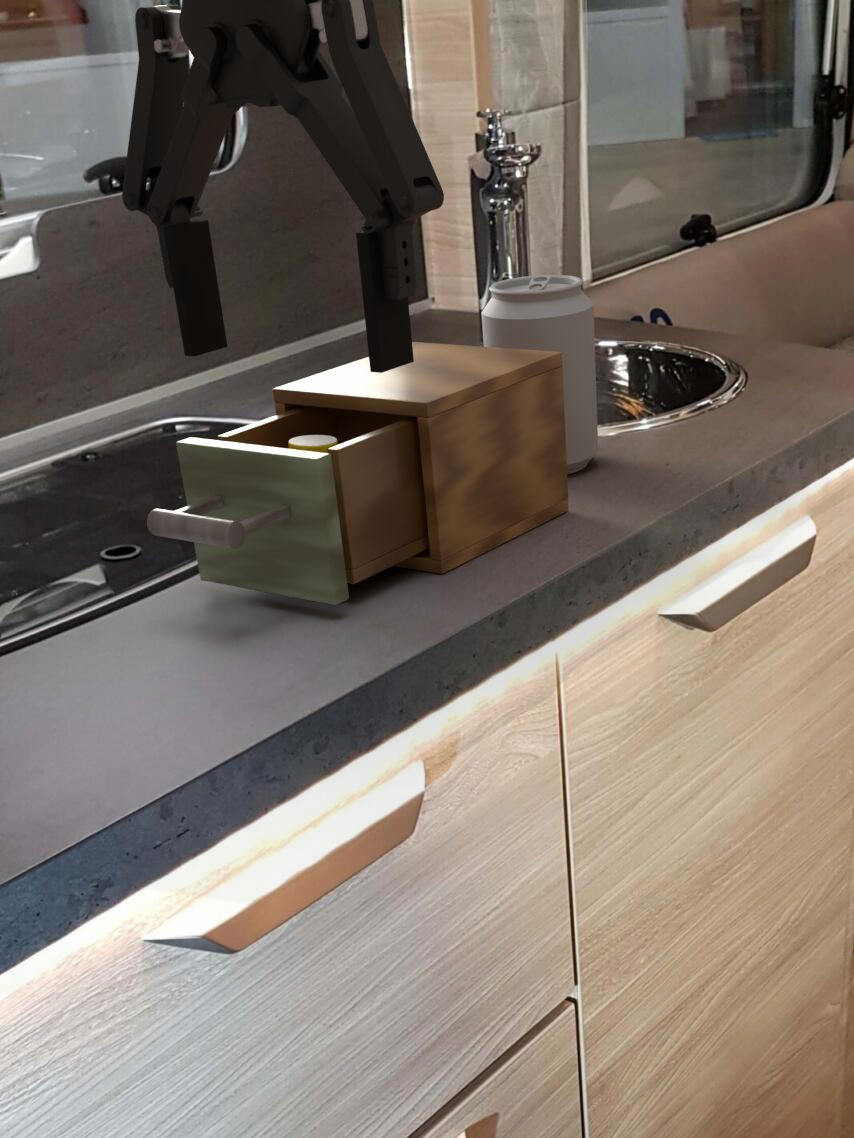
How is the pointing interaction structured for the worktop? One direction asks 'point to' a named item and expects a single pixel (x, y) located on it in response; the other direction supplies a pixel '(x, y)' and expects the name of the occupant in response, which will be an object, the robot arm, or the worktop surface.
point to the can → (552, 345)
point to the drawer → (302, 502)
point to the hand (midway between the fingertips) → (295, 359)
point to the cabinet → (465, 438)
